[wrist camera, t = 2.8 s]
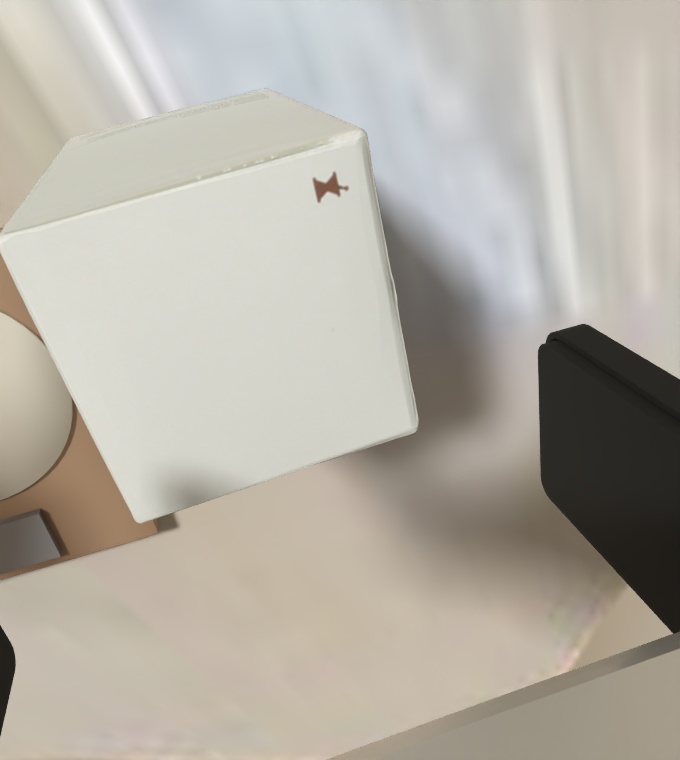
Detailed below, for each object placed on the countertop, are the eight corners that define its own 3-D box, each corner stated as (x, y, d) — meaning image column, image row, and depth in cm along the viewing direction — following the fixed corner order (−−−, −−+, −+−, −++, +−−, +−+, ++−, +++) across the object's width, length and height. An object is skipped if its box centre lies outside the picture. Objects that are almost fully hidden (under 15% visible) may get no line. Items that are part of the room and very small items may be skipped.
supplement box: (61, 135, 22) (-24, 224, 11) (270, 84, 23) (379, 118, 12) (137, 327, 26) (129, 534, 15) (315, 276, 27) (430, 436, 16)
